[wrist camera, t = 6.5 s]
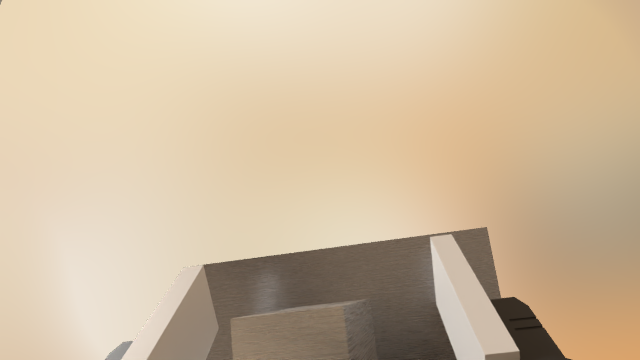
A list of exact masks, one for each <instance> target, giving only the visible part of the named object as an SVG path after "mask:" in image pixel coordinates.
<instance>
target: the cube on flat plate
mask: <svg viewBox="0 0 640 360" xmlns="http://www.w3.org/2000/svg"><path fill="white" fill-rule="evenodd" d="M449 234H452V236H453V238H454V239H455V241H456V243H457V245H458V246H459V248H460V250H461V251H462V253H463V255H464V257H465V258H466V260H467V262H468V264H469V265H470V267H471V269H472V270H473V272H474V274H475V276H476V277H477V279H478V281H479V282H480V284H481V286H482V288H483V289H484V291H485V293H486V294H487V296H488V298H489V300H492V299H501V296H500V291H499V286H498V281H497V276H496V271H495V266H494V261H493V256H492V251H491V246H490V241H489V236H488V231H487V227H485V228H477V229H470V230H463V231H454V232H447V233H439V234H432V235H425V236H417V237H409V238H402V239H394V240H387V241H380V242H371V243H364V244H357V245H349V246H341V247H334V248H326V249H319V250H312V251H304V252H296V253H289V254H281V255H274V256H266V257H258V258H252V259H244V260H236V261H228V262H221V263H213V264H206V265H203V266H204V270H205V274H206V278H207V282H208V286H209V290H210V294H211V298H212V303H213V307H214V311H215V315H216V319H217V323H218V327H219V329H218V332H217V334H216V337H215V339H214V341H213V344H212V346H211V349H210V351H209V353H208V356H207V358H206V360H457V358H456V356H455V353H454V350H453V348H452V345H451V342H450V340H449V337H448V334H447V331H446V329H445V326H444V323H443V321H442V318H441V315H440V313H439V310H438V307H437V305H436V296H435V285H434V274H433V264H432V253H431V243H430V237H433V236H441V235H449ZM198 266H199V265H198Z"/></svg>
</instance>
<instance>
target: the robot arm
mask: <svg viewBox="0 0 640 360" xmlns="http://www.w3.org/2000/svg"><path fill="white" fill-rule="evenodd" d="M1 1H2V0H0V4H1ZM430 243H431V253H432V264H433V274H434V285H435V296H436V305H437V307H438V310H439V313H440V315H441V318H442V321H443V323H444V326H445V329H446V331H447V334H448V337H449V340H450V342H451V345H452V348H453V350H454V353H455V356H456V358H457V360H571V359H567V358H565V357H564V355H563V354H562V352H561V351H560V350H559V348H558V347H557V345H556V344H555V343H554V341H553V340H552V338H551V337H550V336H549V334H548V333H547V331H546V330H545V329H544V328H543V327H542V324H541V323H540V322H539V320H538V319H536V316H535V315H534V313H533V312H532V310H531V309H530V308H529V306H528V305H526V304H524V303H523V302H521V301H520V300H518V299H517V298H515V297H510V298H501V299H492V300H489V298H488V296H487V294H486V293H485V291H484V289H483V288H482V286H481V284H480V282H479V281H478V279H477V277H476V276H475V274H474V272H473V270H472V269H471V267H470V265H469V264H468V262H467V260H466V258H465V257H464V255H463V253H462V251H461V250H460V248H459V246H458V245H457V243H456V241H455V239H454V238H453V236H452V234H449V235H441V236H433V237H430ZM218 329H219V327H218V323H217V319H216V315H215V311H214V307H213V303H212V298H211V294H210V290H209V286H208V282H207V278H206V274H205V270H204V266H203V265H199V266H191V267H184V268H183V269H182V271H181V272H180V274H179V275H178V276H177V278H176V279H175V281H174V282H173V284H172V285H171V287H170V288H169V290H168V291H167V293H166V294H165V296H164V297H163V298H162V300H161V301H160V303H159V304H158V306H157V307H156V309H155V310H154V312H153V313H152V315H151V316H150V318H149V319H148V321H147V322H146V323H145V325H144V326H143V328H142V330H141V331H140V332H139V334H138V335H137V337H136V338H135V340H134V341H129V342H123V343H122V344H121V345H119V346H118V347H117V348H116V349H114V350H113V351H112V352H111V353H109V355H108V356H107V358H106V359H105V360H206V358H207V356H208V353H209V351H210V349H211V346H212V344H213V341H214V339H215V337H216V334H217V332H218Z"/></svg>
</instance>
